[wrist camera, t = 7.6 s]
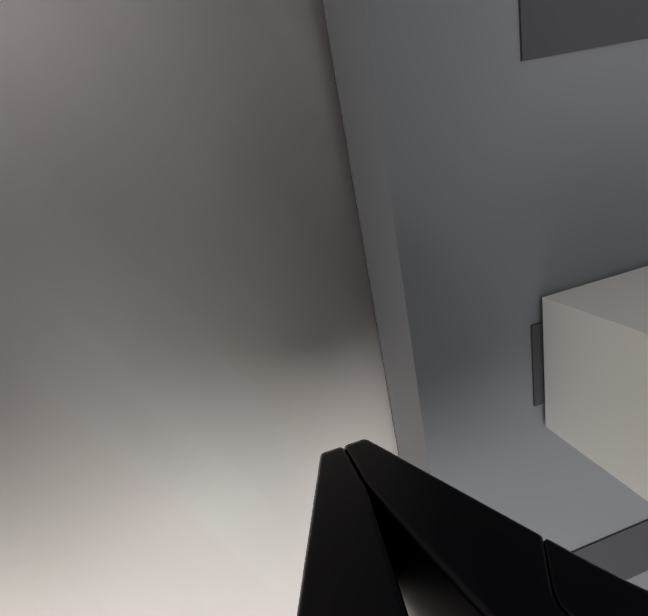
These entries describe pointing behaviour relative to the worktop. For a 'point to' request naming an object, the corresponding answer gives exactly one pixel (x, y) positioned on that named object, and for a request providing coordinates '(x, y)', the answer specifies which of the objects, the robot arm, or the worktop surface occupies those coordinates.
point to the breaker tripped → (601, 373)
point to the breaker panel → (497, 232)
